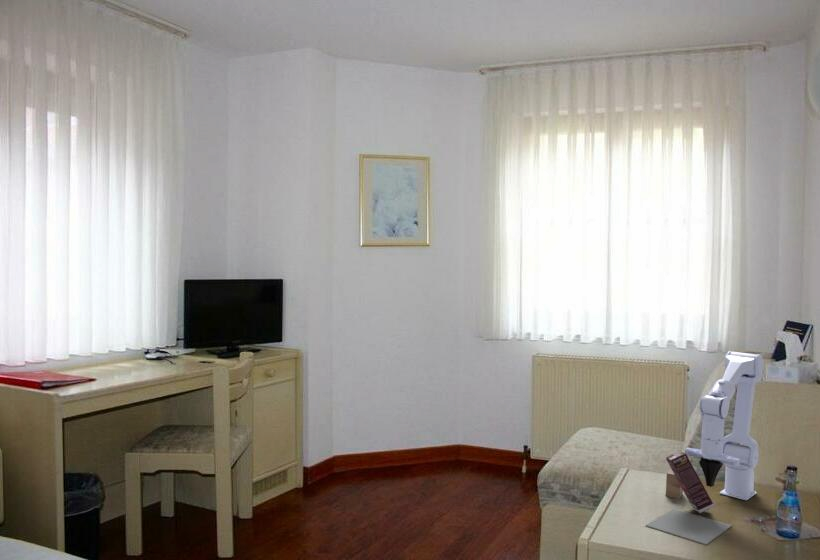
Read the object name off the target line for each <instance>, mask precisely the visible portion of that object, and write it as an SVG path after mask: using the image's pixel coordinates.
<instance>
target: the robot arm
mask: <svg viewBox="0 0 820 560" xmlns="http://www.w3.org/2000/svg"><path fill="white" fill-rule="evenodd" d="M764 367H765V362H764V358H763V356H762V354H761V353H758V354H757V353H756V354H754V353H748V352H747V353H746V352H738V351H732V350H728V352H726V353H725V356H724V368H725V371H724V374H723V376H722V378H720V379H717V381H716V382H715V383H714V384H713V386H712V388H711V389H710V391H709V392H708V394H706V395H704V396H702V397H701V399H700V401H699V402H700V403H699V409H698V410H699V413H700V421H701V424H702V425H701V439H700V441H701V443H700V444H701V445H700V448H699V449H698V448H691V447H686V448H685V449H684V453H685V454H686V455H687V457H689V456H690V457H694V458H697V459H698V458H699V459H700V460H699V462H698V463H699V465H700V468H701V469H702V472H703V475H704V479H705V483H706V486H707V487H709V488H710V487H714V486H715V482H716V480H717V479H716V478H717V476H718V474H719V472H720V470H721V468H722V466H723V465H725V475H724V477H725V478H724V488H723V489H722V490H721V491H719V494H720V495H723V496H727V497H732V498H736V499H738V500H739V499H740V500H743V501H748V500H749V499H750V498H752V497H753V496H755V495H756V494H757V491H754V488H755V485H754V484H755V470H754V469H755V468H756V467H757V466H758V463H759V457H760V452H759V443H758V442H757V441H756V440H755V439H754V438H753V437H752V436H751V435H750V433H751V425H752V416H753V415H752V414H753V407H754V406H753V405H754V399H755V398H754V397H755V389H756V385H757V383H759V382H761V381H762V378H763V377H764V376H763V375H764ZM736 384H737V390H736V386H735V385H736ZM735 394H736V397H735V398H736V399H735V406H734V413H733V414H734V416H733V423H732V424H733V425H732V431H731V433H729V434H727V435H725V419H726V418H727V416H728V413H729V408H730V406H731V405H730V404H731V403H730V402H731V400H732V398H733V396H734V395H735Z"/></svg>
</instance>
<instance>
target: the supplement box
mask: <svg viewBox="0 0 820 560" xmlns="http://www.w3.org/2000/svg"><path fill="white" fill-rule="evenodd" d="M665 459H666V462H667V463H668V465H669V467H670V470H672V471H673V473H674V474H675V476H676V478H677V480H678V482H679V484H680V485H681V487H682V489H683V492H684V495H685V496H686V499H687V500H688V502H689V504H690V505H691V507H692V509H693V510H695V512H698V513H699V514H701V513H703V512H706V511H708V510H710V509H713V508H715V504H714V502H713V500H712V499H711V497H710V495H709V493H708V491H707V489H706V488H705V486H704V484H703V482H702V480H701V479H700V477H699V474H698V473H697V471H696V470H695V468H694V466H693V464H692V463H691V460H690V458H689V456H687V455H686V454H685V452H682V451H678V452H675V453H673V454H670V455H669V456H667V457H665Z"/></svg>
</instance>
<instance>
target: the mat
mask: <svg viewBox="0 0 820 560" xmlns="http://www.w3.org/2000/svg"><path fill="white" fill-rule="evenodd" d="M732 526H733V524H729V523H725V522H721V521H718V520H716V519H712V518H708V517H704V516H702V515H697V514H694V513H692V512H691V513H690V512H687V511H684V510H679V509H678V508H677V509H676V508H672V509H671V510H668V511H667V512H665V513H664V514H662V515H660V516H659V517H657V518H655V519H654V520H652V521H650V522H648V523H647V524H645V527H647V528H651V529H654V530H657V531H660V532H663V533H667V534H670V535H673V536H675V537H679V538H682V539H685V540H688V541H692V542H695V543H697V544H701V545H705V546H707V545H709V544H710V543H711V542H713V541H714V540H715V539H717V538H718V537H719V536H721V535H722V534H724V533H725V532H727V530H729V529H730V528H732Z"/></svg>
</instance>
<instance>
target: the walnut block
mask: <svg viewBox="0 0 820 560" xmlns="http://www.w3.org/2000/svg"><path fill="white" fill-rule="evenodd" d="M665 483H666V484H665V496H666V497H669V498H675V499H679V500H680V499H681V497H682V496H683V492H684V491H683V489H682V487H681V485H680V484H679V482H678V480H677V478H676V476H675V474H674V473H673V471H672V469H669V470H668V471H667V472H666V481H665Z"/></svg>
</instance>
